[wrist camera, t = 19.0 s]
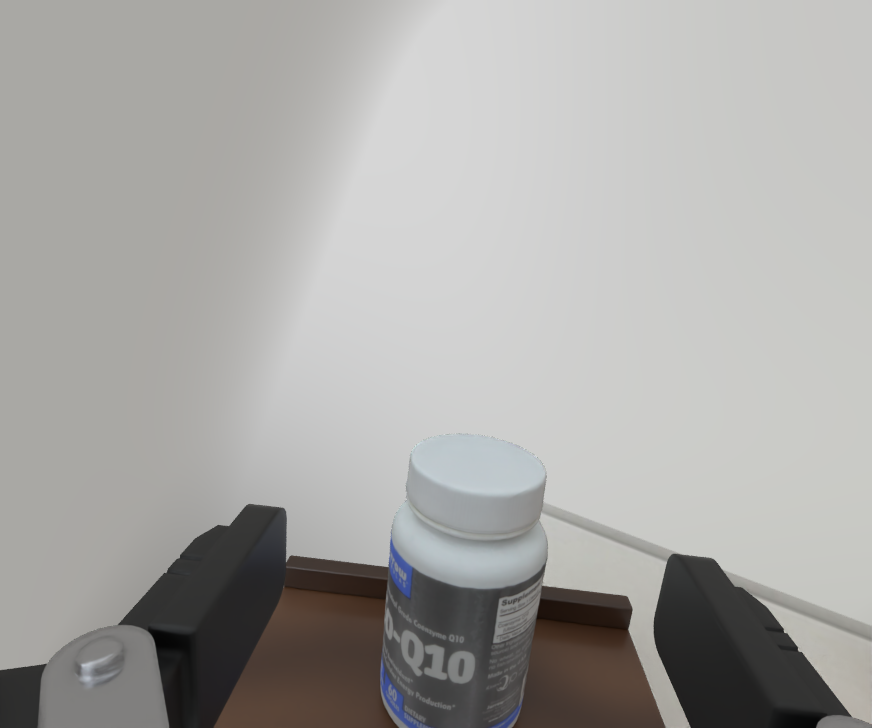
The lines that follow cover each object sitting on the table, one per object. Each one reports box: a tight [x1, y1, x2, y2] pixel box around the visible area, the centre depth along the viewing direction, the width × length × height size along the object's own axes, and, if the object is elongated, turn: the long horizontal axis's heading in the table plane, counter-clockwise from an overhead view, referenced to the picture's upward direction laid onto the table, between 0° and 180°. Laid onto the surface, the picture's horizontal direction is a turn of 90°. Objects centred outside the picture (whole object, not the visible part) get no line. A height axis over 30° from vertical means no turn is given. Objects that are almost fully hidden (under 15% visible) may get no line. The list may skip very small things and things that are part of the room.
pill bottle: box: [380, 434, 548, 728], centre depth 16 cm, size 5×5×8 cm
